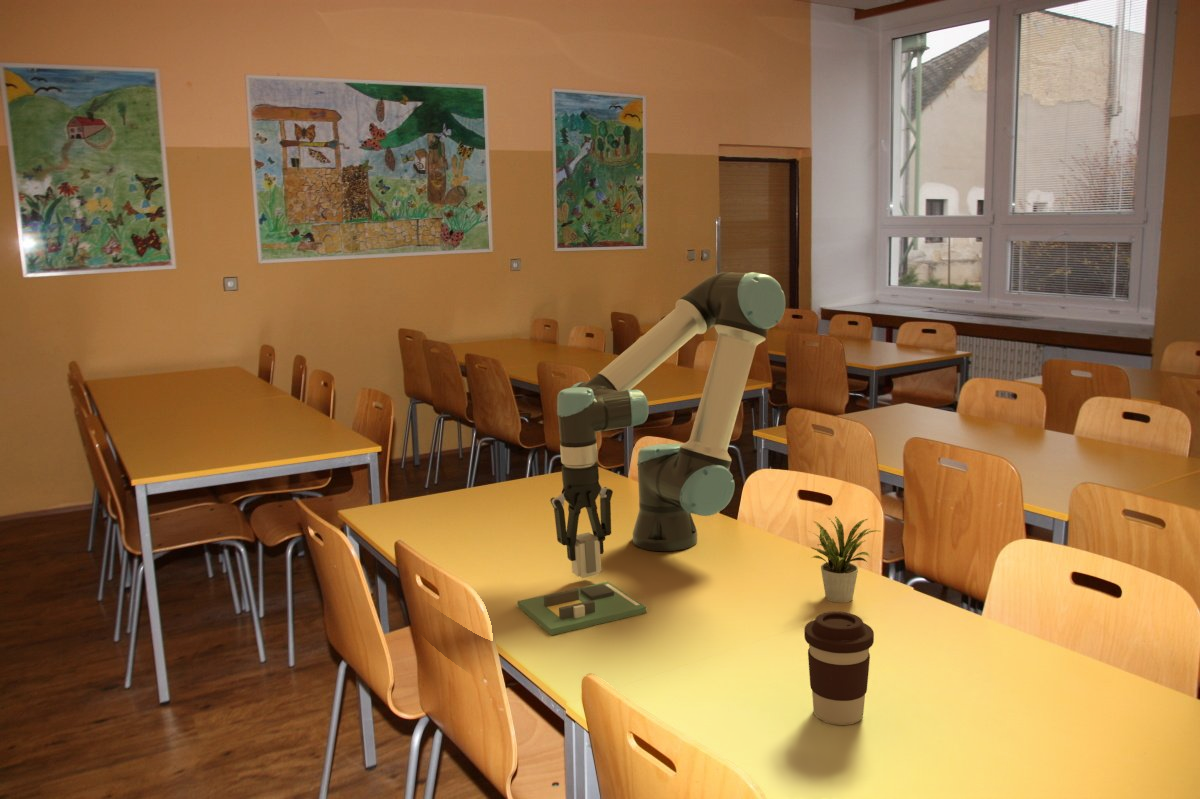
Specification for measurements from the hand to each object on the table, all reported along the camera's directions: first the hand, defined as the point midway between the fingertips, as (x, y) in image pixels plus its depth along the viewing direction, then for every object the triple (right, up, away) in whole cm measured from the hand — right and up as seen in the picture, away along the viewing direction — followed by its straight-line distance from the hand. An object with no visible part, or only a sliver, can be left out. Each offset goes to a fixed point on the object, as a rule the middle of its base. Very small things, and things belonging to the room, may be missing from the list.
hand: (586, 571), depth 204 cm
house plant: (+51, -3, -13) cm, 53 cm away
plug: (0, 0, 0) cm, 0 cm away
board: (-1, -5, -14) cm, 15 cm away
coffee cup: (+38, -11, -58) cm, 70 cm away
